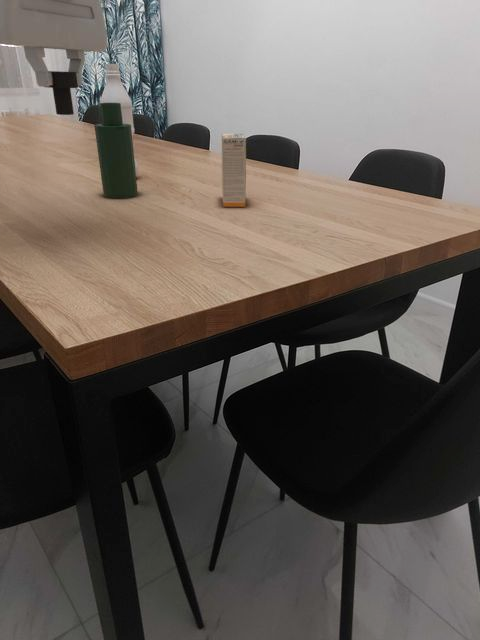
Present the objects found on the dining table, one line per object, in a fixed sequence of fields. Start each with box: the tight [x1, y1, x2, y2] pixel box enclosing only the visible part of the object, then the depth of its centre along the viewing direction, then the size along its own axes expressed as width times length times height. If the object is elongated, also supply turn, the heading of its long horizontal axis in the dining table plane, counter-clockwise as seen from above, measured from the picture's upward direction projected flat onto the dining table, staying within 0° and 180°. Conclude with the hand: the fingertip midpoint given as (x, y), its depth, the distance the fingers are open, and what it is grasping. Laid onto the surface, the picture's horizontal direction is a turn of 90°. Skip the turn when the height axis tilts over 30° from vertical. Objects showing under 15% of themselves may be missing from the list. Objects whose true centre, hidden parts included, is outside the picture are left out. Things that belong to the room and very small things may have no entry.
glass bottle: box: [94, 102, 139, 200], centre depth 105 cm, size 7×7×18 cm
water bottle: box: [100, 63, 139, 178], centre depth 120 cm, size 7×7×25 cm
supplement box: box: [221, 133, 247, 208], centre depth 102 cm, size 8×5×13 cm, turn 5°
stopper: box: [47, 70, 79, 116], centre depth 72 cm, size 5×5×6 cm
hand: (60, 86), depth 72 cm, fingers closed on stopper, 4 cm apart
